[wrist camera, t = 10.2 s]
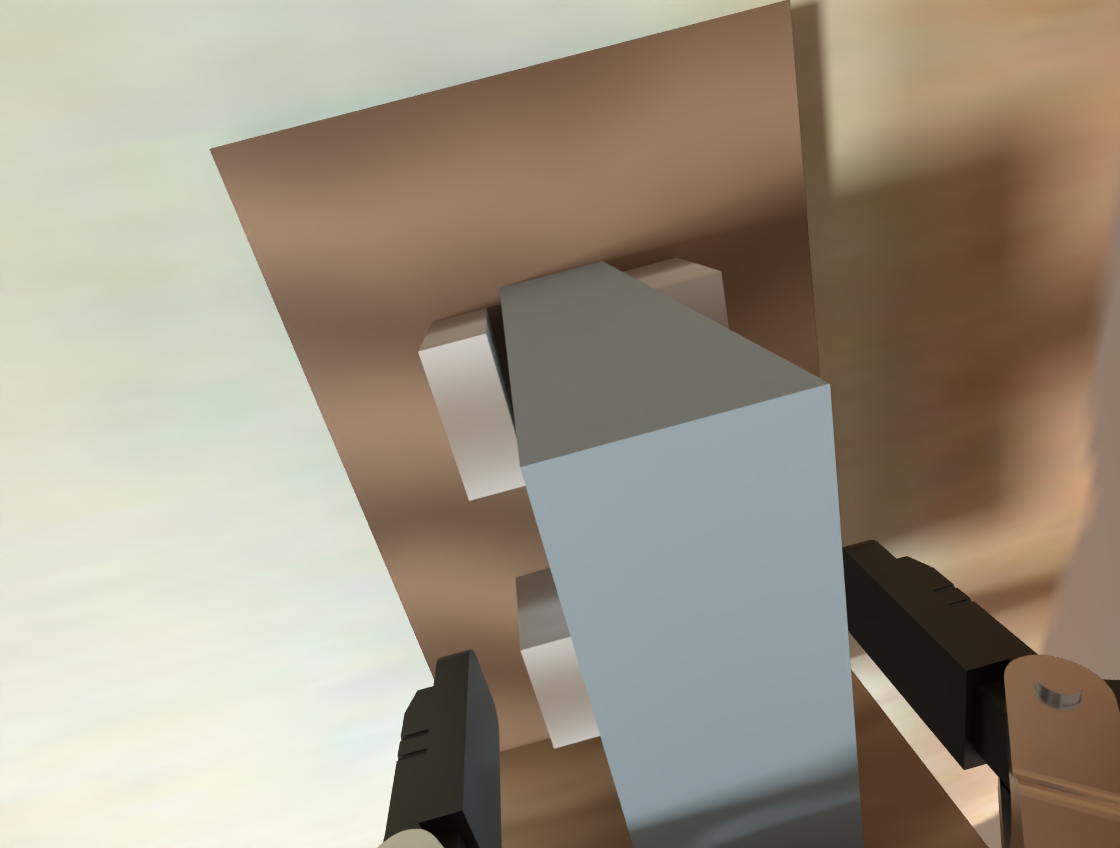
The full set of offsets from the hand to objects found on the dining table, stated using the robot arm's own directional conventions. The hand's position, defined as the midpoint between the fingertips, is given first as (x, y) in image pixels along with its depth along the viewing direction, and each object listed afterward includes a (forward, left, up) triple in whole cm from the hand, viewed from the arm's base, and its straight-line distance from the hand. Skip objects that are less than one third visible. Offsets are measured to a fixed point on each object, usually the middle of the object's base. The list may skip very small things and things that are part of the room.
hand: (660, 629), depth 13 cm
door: (0, 0, -7) cm, 7 cm away
